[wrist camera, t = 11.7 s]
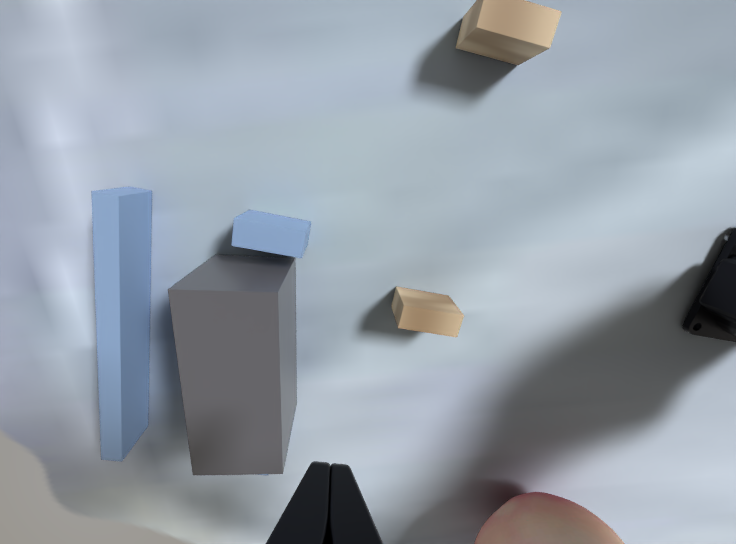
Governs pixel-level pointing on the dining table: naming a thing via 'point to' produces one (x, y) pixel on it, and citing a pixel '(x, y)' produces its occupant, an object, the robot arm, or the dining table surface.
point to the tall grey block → (237, 362)
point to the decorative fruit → (544, 523)
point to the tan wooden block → (505, 43)
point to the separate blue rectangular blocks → (147, 301)
